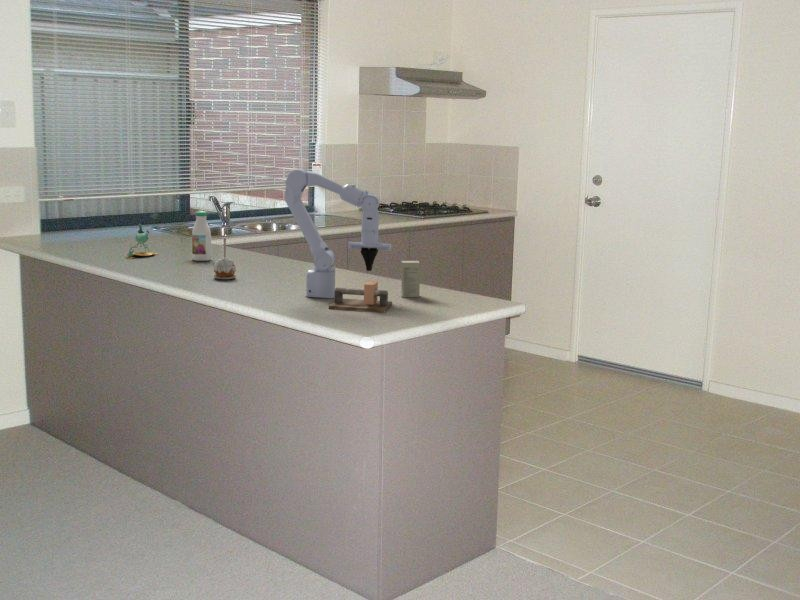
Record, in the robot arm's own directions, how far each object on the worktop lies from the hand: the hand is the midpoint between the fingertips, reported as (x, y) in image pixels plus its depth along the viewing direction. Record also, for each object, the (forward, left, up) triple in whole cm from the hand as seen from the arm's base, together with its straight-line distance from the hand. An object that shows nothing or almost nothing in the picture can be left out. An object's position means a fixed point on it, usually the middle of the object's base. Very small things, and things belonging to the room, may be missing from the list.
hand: (369, 270), depth 317 cm
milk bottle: (-84, +57, -10) cm, 102 cm away
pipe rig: (+1, -16, -9) cm, 18 cm away
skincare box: (+13, +7, -10) cm, 18 cm away
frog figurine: (-112, +57, -10) cm, 126 cm away
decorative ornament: (-59, +19, -10) cm, 63 cm away
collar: (+4, -16, -8) cm, 18 cm away
